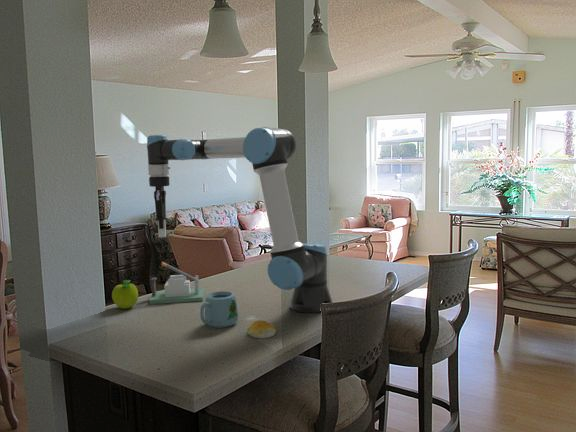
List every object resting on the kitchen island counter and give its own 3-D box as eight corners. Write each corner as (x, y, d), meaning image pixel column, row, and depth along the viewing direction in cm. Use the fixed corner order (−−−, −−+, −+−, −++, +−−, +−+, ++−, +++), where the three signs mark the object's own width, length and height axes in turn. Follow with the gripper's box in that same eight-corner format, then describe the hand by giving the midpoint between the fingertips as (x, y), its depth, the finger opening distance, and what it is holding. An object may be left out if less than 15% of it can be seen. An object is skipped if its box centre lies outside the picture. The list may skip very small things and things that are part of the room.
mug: (214, 335, 160) (212, 304, 159) (189, 329, 166) (187, 299, 165) (245, 322, 172) (244, 292, 171) (220, 316, 178) (219, 288, 177)
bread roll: (265, 327, 166) (265, 315, 166) (279, 335, 159) (279, 323, 158) (242, 333, 162) (242, 320, 162) (256, 341, 155) (255, 328, 154)
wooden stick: (197, 281, 205) (198, 279, 205) (197, 282, 203) (198, 280, 203) (161, 264, 203) (163, 261, 203) (160, 265, 201) (162, 262, 201)
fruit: (140, 303, 198) (138, 277, 197) (137, 310, 189) (135, 283, 188) (115, 305, 197) (113, 279, 195) (111, 312, 187) (109, 285, 186)
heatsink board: (204, 292, 212) (203, 272, 211) (202, 301, 199) (201, 279, 198) (155, 294, 210) (153, 274, 209) (149, 303, 197) (148, 282, 196)
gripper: (166, 176, 192) (169, 239, 195) (171, 174, 205) (174, 233, 208) (145, 176, 192) (149, 239, 194) (152, 175, 205) (155, 234, 207)
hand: (162, 236), depth 201 cm, fingers closed
